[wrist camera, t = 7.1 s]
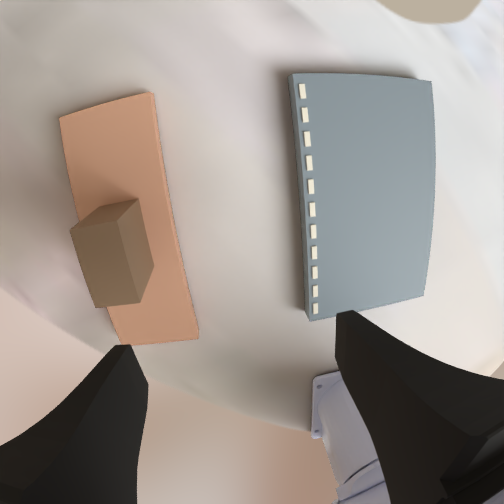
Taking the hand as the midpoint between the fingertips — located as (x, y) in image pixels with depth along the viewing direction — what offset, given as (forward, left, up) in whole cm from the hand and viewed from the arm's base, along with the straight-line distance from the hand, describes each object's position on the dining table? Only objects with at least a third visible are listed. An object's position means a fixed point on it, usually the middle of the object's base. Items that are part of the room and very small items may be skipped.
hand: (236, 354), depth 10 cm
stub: (+2, +5, -9) cm, 11 cm away
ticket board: (+2, -9, -9) cm, 13 cm away
